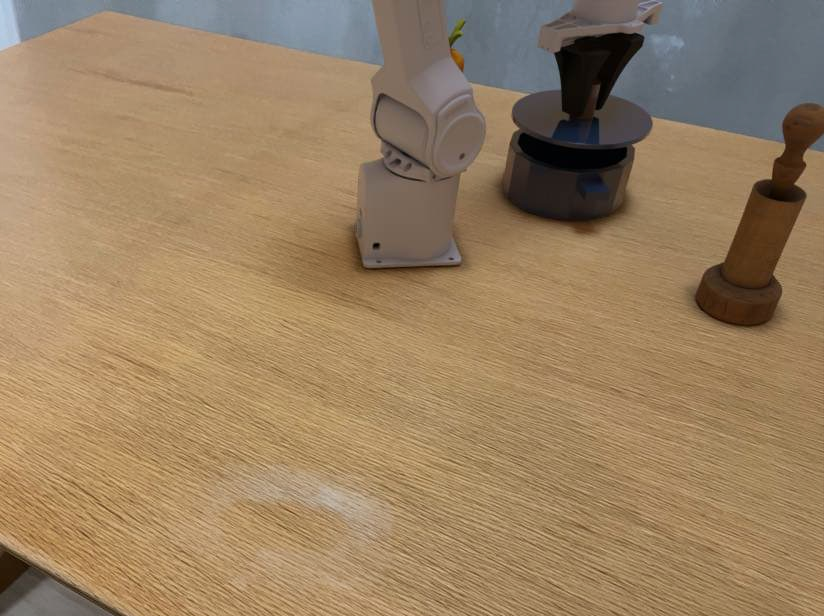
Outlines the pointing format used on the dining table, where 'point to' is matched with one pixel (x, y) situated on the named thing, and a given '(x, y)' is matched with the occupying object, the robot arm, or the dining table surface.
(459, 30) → the carrot
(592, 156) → the pot
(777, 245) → the mortar and pestle
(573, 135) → the lid
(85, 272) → the dining table surface
